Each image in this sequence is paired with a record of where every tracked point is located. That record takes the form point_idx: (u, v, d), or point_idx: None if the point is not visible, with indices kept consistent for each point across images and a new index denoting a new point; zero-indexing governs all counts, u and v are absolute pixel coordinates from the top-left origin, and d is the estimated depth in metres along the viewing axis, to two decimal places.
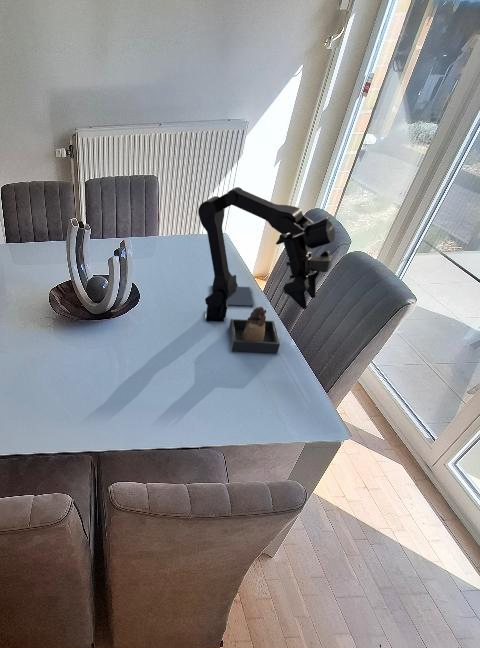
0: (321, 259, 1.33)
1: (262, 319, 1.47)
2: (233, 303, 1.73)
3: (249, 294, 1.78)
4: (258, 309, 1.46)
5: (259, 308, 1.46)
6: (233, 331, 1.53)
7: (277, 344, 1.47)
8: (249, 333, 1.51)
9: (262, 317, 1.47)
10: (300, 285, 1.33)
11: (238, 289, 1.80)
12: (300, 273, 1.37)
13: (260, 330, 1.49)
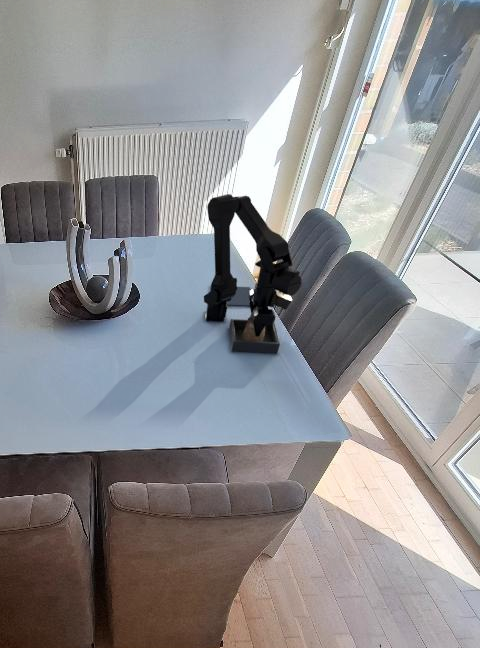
0: (285, 296, 1.42)
1: None
2: (233, 303, 1.73)
3: None
4: None
5: (259, 308, 1.46)
6: (233, 331, 1.53)
7: (277, 344, 1.47)
8: (249, 332, 1.51)
9: None
10: (271, 319, 1.39)
11: (238, 289, 1.80)
12: (265, 304, 1.42)
13: None
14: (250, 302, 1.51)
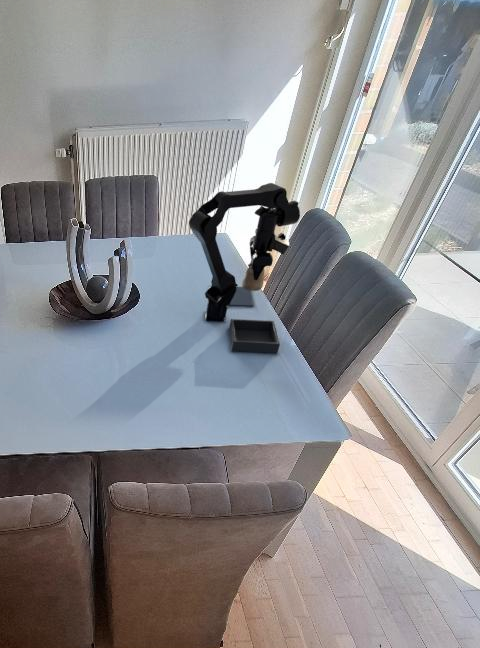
0: (283, 241, 1.51)
1: None
2: (233, 303, 1.73)
3: (249, 294, 1.78)
4: None
5: None
6: (233, 331, 1.53)
7: (277, 344, 1.47)
8: (249, 278, 1.60)
9: None
10: (269, 262, 1.48)
11: (238, 289, 1.80)
12: (264, 248, 1.52)
13: None
14: (251, 249, 1.60)
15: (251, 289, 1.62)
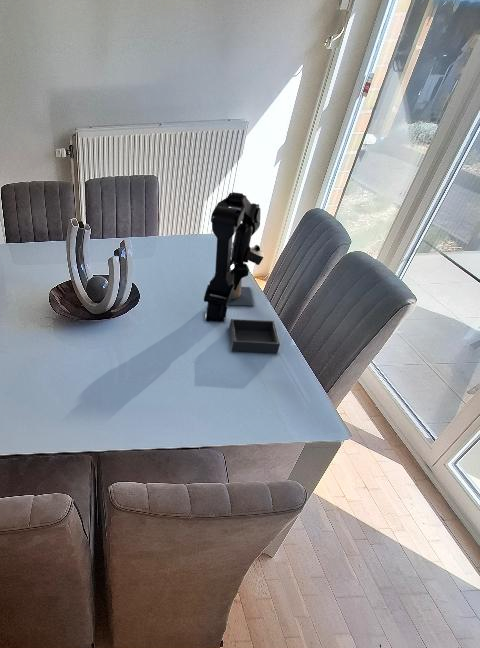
0: (257, 253, 1.64)
1: None
2: (233, 303, 1.73)
3: (249, 294, 1.78)
4: None
5: None
6: (233, 331, 1.53)
7: (277, 344, 1.47)
8: None
9: None
10: (245, 272, 1.61)
11: None
12: (240, 259, 1.65)
13: None
14: None
15: None
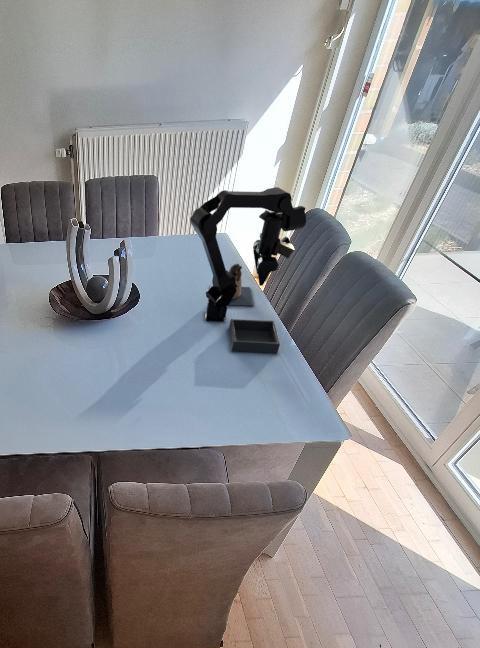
0: (288, 245, 1.51)
1: (238, 274, 1.69)
2: (233, 303, 1.73)
3: (249, 294, 1.78)
4: (235, 265, 1.69)
5: (236, 265, 1.69)
6: (233, 331, 1.53)
7: (277, 344, 1.47)
8: None
9: (238, 272, 1.69)
10: (275, 266, 1.48)
11: None
12: (269, 252, 1.51)
13: (237, 284, 1.72)
14: (254, 252, 1.60)
15: None
